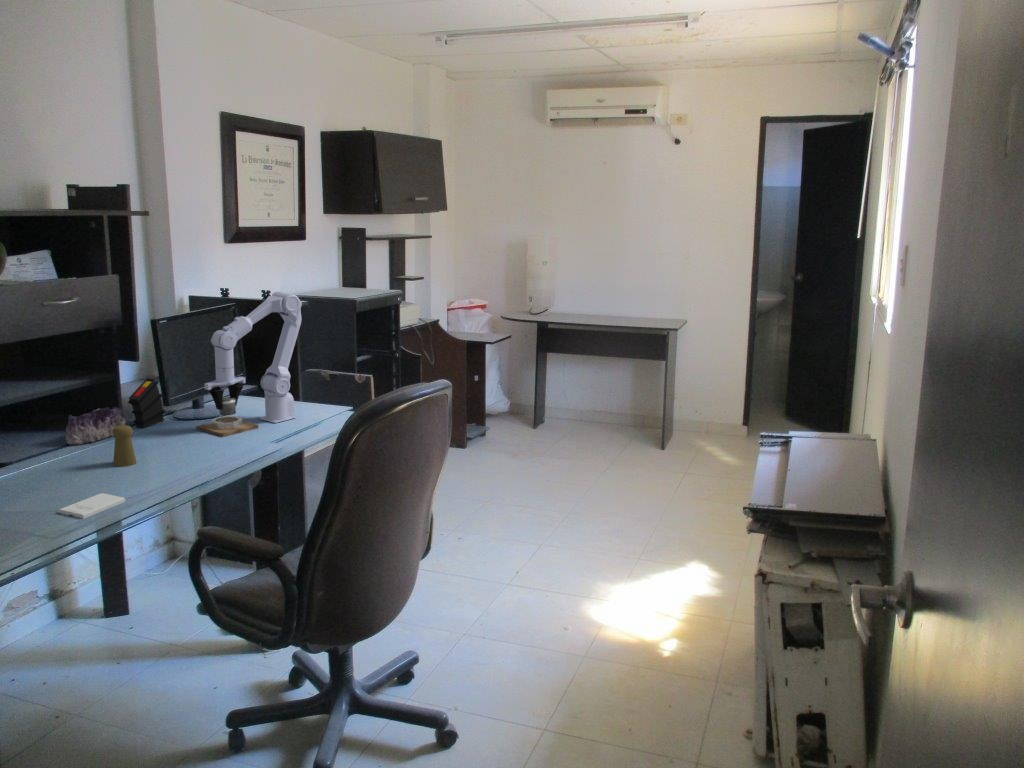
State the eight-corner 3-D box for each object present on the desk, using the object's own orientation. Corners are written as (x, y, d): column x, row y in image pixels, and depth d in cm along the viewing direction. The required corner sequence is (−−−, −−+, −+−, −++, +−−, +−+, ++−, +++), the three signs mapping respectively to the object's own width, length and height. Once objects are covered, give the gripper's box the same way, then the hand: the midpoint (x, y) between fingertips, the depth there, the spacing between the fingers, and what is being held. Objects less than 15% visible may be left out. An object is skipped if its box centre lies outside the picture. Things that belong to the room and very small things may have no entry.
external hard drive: (125, 503, 207) (83, 520, 196) (101, 498, 210) (58, 514, 199) (125, 497, 207) (83, 514, 195) (100, 492, 209) (57, 508, 198)
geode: (90, 448, 248) (82, 417, 246) (58, 450, 251) (50, 418, 248) (134, 428, 267) (128, 399, 265) (104, 430, 270) (97, 400, 268)
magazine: (170, 413, 283) (156, 378, 273) (149, 438, 272) (133, 403, 263) (160, 412, 283) (146, 377, 274) (139, 437, 273) (123, 402, 264)
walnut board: (231, 420, 282) (231, 417, 282) (258, 427, 275) (258, 425, 275) (195, 429, 271) (195, 426, 271) (223, 436, 264) (222, 433, 263)
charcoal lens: (228, 410, 275) (227, 396, 274) (239, 412, 273) (238, 398, 272) (216, 414, 270) (215, 399, 269) (227, 416, 268) (226, 401, 267)
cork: (114, 460, 237) (111, 424, 235) (137, 459, 239) (134, 422, 237) (112, 467, 232) (109, 429, 229) (135, 465, 234) (133, 428, 231)
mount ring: (230, 420, 279) (229, 414, 279) (248, 425, 274) (247, 419, 274) (206, 425, 271) (205, 420, 271) (224, 431, 266) (224, 425, 266)
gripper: (213, 372, 260) (215, 413, 263) (250, 365, 272) (252, 405, 275) (199, 369, 264) (201, 410, 267) (237, 362, 276) (238, 402, 279)
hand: (226, 407), depth 271 cm, fingers closed on charcoal lens, 5 cm apart
